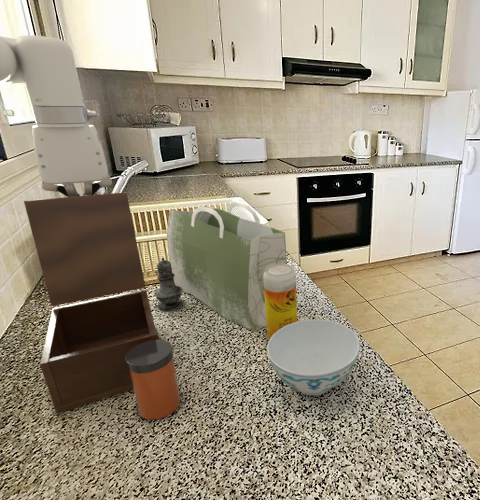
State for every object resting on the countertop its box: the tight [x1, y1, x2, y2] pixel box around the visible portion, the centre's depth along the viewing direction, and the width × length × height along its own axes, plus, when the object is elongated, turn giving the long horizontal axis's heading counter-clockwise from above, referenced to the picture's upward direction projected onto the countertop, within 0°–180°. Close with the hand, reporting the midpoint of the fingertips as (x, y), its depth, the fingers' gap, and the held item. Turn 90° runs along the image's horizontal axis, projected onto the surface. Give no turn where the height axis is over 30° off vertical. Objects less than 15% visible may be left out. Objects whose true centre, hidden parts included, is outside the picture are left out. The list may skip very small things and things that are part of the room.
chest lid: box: [23, 191, 146, 307], centre depth 68 cm, size 19×15×1 cm
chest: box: [39, 288, 159, 414], centre depth 65 cm, size 18×15×9 cm
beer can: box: [263, 263, 298, 340], centre depth 73 cm, size 6×6×15 cm
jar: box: [125, 339, 181, 421], centre depth 56 cm, size 6×6×10 cm
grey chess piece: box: [153, 257, 184, 312], centre depth 84 cm, size 6×6×12 cm
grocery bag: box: [166, 201, 287, 332], centre depth 86 cm, size 32×14×23 cm, turn 53°
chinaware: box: [266, 318, 361, 396], centre depth 62 cm, size 15×15×8 cm
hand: (87, 218), depth 72 cm, fingers closed
